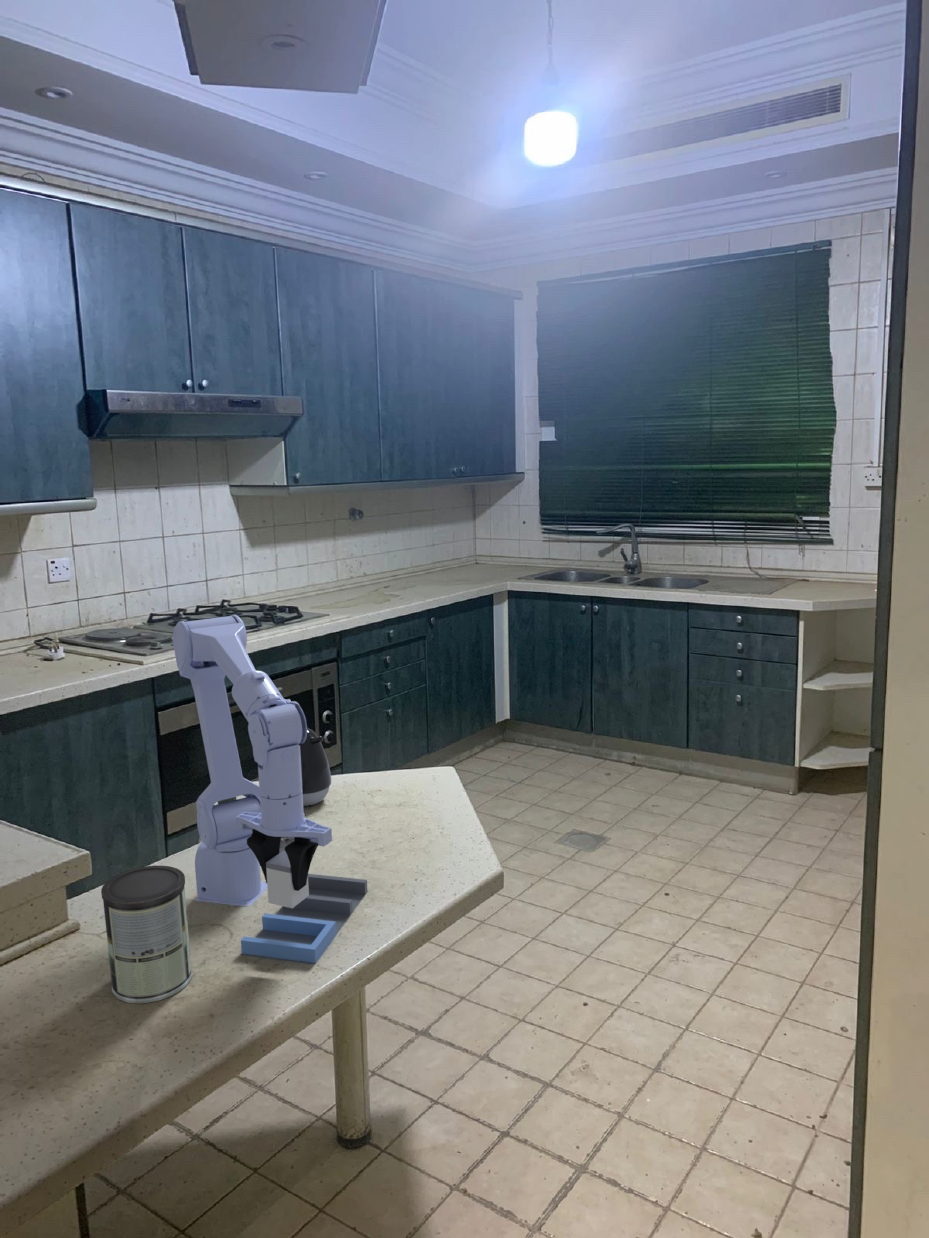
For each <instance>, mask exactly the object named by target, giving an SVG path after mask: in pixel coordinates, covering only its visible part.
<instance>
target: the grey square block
mask: <svg viewBox="0 0 929 1238" xmlns="http://www.w3.org/2000/svg"><path fill="white" fill-rule="evenodd" d="M266 872H267V883H266V884H267V900H268V902H267V903H268V904H271V905H276V906H280V907H282V906H284V907H288V908H294V907H295V906H296V905H297V904H299V903H300V902H301V901H303V900H304V899H305V898H306V897H308V896H309V886H308V877H307V883H306V886H304V887H303V888H302V889H300V890H299V891H296V890H294V888H293V883H292V872H291V866H290V862H289V859H288V856H287V853H286V851H282V852H281V853H279V854H278V855H276V856H275V857H273V858H272V859H270V860H269V861H268V862H266Z"/></svg>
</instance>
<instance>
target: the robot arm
mask: <svg viewBox="0 0 929 1238" xmlns="http://www.w3.org/2000/svg"><path fill="white" fill-rule="evenodd" d="M247 637H248V636H247V629H246V625H245V622H244V621H243V620H242V619H241V617H240V616H239V615H238V614H230V615H229V616H221V617H214V618H213V617H211V618H204V619H198V620H188V621H184V620H181V621H178V622H177V623H176V625H175V626H174V628H173V634H172V645H173V651H174V655H175V661H176V666H177V670H178V672H179V675H180V677H182V678H186V679H188V680H190V683H191V687H192V690H193V694H194V699H195V705H196V709H197V710H196V711H197V715H198V720H199V725H200V730H201V731H200V732H201V736H202V742H203V746H204V753H205V757H206V764H207V768H208V773H209V778H210V784H208V786H207V787H206V788H205V789H204V790H203V792H201V794H200V795H199V796H198V797H197V800H196V803H195V805H196V813H197V816H196V824H197V831H198V835H199V838H200V840H201V842H200V844H199V845H198V847H197V849H196V852H195V857H194V868H195V869H194V871H195V882H196V883H195V884H196V885H195V887H196V896H197V897H196V898H194V900H195V902H196V901H197V902H203V903H212V904H221V905H222V904H224V905H232V906H238V907H251V906H252V905H253V904H254V903H255V902H256V901H257V900H258V899H259V898H260V897H261V896H262V895H263V894H264V893H265V891H266V890H268V888H267V872H266V862H268V861H269V860H270V859H272V858H273V857H275V856H276V855H278V854H279V850H280V841H281V837H290V838H294V842H292V843H290V844H289V845H287V846H286V847H285V851H286V853H287V856H288V859H289V862H290V866H291V872H292V883H293V888H294V890H296V891H299V890H300V889H302V888H303V887H304V886H306V883H307V877H308V874H309V871H310V867H311V863H312V861H313V858H314V855H315V853H316V852H317V851H316V850H317V849H318V847H319V846H320V847H325V846H327V845H328V844H330V843H331V842H332V841H333V835H332V834H333V833H332V831H333V830H332V827H330V826H329V827H328V826H325V825H322V824H320V823H317V822H316V821H314V820H311V819H309V818H308V817H307V818H306V817H305V815H306V814H305V812H304V806H303V793H302V774H301V755H300V746H299V745H298V744H299V743H300V744H302V743H304V742H305V740H306V737H307V728H308V725H307V718H306V715H305V713H304V711H303V709H302V707H301V706H300V704H299V702H298V701H295V700H294V701H293V700H292V701H291V699H290V698H288V699H285V698H284V697H283V695H282V694H281V692H280V691H279V689H278V688H277V686H276V685H275V684H274V682H273V681H272V679H271V678H270V677H269V676H270V675H268V673H266V672H264V671H262V670H256V668H255V666H254V664H253V662H252V660H251V658H250V657H249V654H248V652H247V650H246V648H247V643H248V638H247ZM226 677H227V678H228V680H230V682H231V683H232V684H233V686H232V688H231V696H232V697H231V698H233V700H234V702H235V703H236V705H237V707H238V708H239V709H240V711H241V713H242V714H243V716H244V718H245V719H246V721H247V723H248V725H247V730H248V736H249V740H250V742H251V746H252V754H253V758H254V762H255V763H257V772H258V784H257V783H255V782H253V781H250V780H248V779H247V778H245V777H244V776H243V772H242V771H243V770H242V767H241V760H240V757H239V756H240V755H239V751H238V746H237V745H238V744H237V739H236V735H235V731H234V724H233V718H232V714H231V709H230V704H229V699H228V693H227V687H226V684H225V678H226ZM240 796H241V797H242V796H243V797H242V798H237V797H240ZM233 797H236V799H237V800H233V801H229V802H225V803H221V804H218V801H221V800H225V799H229V798H233ZM216 803H217V804H216ZM261 872H262V874H263V876H264V880H265V881H263V880H262V877H261V876H262V875H261Z"/></svg>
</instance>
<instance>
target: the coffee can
mask: <svg viewBox="0 0 929 1238" xmlns="http://www.w3.org/2000/svg"><path fill="white" fill-rule="evenodd" d="M185 884H186V875H185V874H184V872H183V871H182V870H180V869H179V868H177V867H173V866H168V865H146V866H145V865H144V866H140V867H136V868H132V869H128V870H126V871H123V872H120V873H118V874H116V875H114V876H112V877H111V878H110V879H107V881H106V882H105V883H104V884H103V886H102V887H101V890H100V891H101V899H102V900H103V901H102V902H103V911H104V921H105V923H104V924H105V931H106V940H107V952H108V959H109V962H108V963H109V968H110V969H109V971H110V978H111V992H112V994H113V996H114V997H115V998H116V999H118V1000H120V1001H122V1002H124V1003H129V1004H149V1003H154V1002H159V1001H161V1000H165V999H167V998H169V997H172V996H174V995H176V994H178V993H180V991H182V990H183V989H184V988H185V987H187V985H189V983H190V982H191V979H192V978H193V969H192V960H191V959H192V958H191V948H190V937H189V925H188V911H187V901H186V890H185V889H186V887H185Z"/></svg>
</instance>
